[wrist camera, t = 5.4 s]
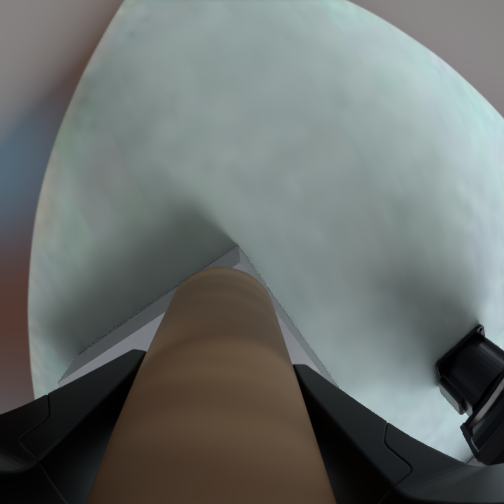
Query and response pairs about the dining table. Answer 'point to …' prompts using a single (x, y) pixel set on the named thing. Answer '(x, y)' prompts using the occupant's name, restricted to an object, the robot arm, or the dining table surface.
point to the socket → (148, 320)
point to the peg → (214, 408)
